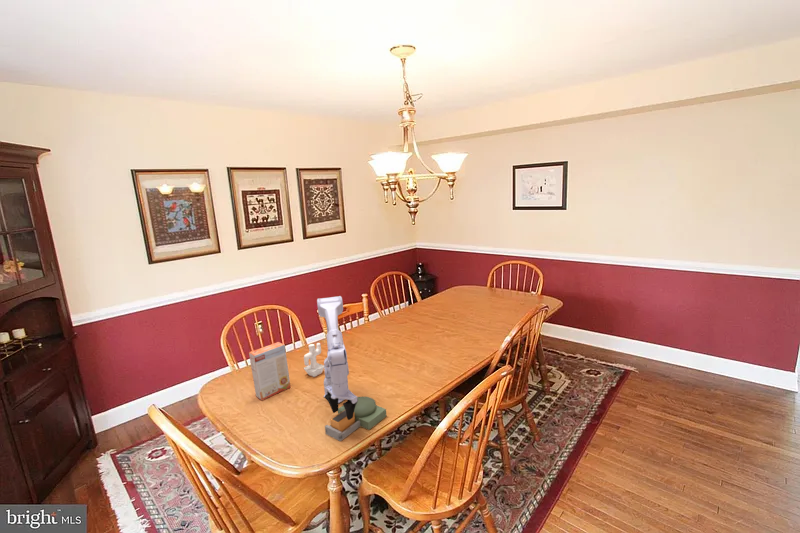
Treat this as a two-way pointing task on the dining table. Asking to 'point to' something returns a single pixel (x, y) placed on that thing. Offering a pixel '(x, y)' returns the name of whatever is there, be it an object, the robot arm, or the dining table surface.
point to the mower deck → (359, 417)
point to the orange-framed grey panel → (342, 421)
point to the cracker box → (269, 370)
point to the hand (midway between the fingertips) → (342, 414)
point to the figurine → (313, 360)
